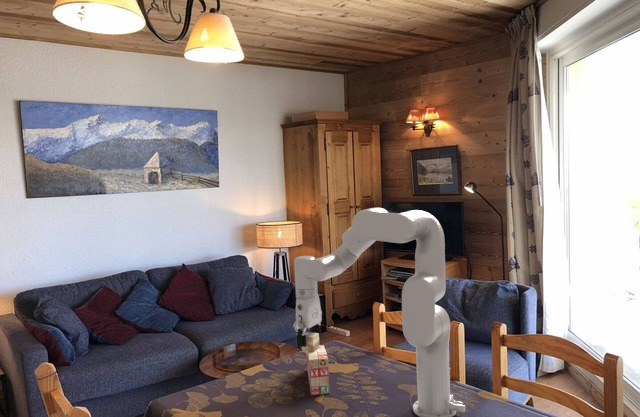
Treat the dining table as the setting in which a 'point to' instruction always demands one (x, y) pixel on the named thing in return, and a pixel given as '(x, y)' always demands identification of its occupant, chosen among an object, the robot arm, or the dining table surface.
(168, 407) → the dining table surface
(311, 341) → the tan metal block
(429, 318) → the robot arm
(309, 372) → the stack of blocks
